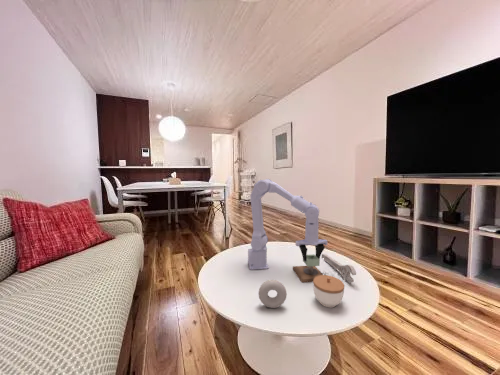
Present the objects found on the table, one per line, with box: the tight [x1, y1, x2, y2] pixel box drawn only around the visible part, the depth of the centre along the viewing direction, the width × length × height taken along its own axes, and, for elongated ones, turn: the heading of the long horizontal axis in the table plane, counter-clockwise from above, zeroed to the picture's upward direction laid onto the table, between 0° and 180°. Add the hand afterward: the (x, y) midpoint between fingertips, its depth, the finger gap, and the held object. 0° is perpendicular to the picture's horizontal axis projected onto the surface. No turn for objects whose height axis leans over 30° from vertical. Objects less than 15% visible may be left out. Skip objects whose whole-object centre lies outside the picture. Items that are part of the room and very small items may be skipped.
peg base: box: [292, 265, 324, 283], centre depth 98 cm, size 11×12×6 cm
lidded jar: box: [312, 274, 345, 308], centre depth 78 cm, size 11×11×9 cm
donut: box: [258, 279, 288, 309], centre depth 75 cm, size 10×4×10 cm, turn 88°
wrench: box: [321, 253, 357, 283], centre depth 102 cm, size 8×2×30 cm
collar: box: [302, 254, 321, 267], centre depth 97 cm, size 6×6×3 cm
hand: (310, 260), depth 98 cm, fingers closed on collar, 6 cm apart
